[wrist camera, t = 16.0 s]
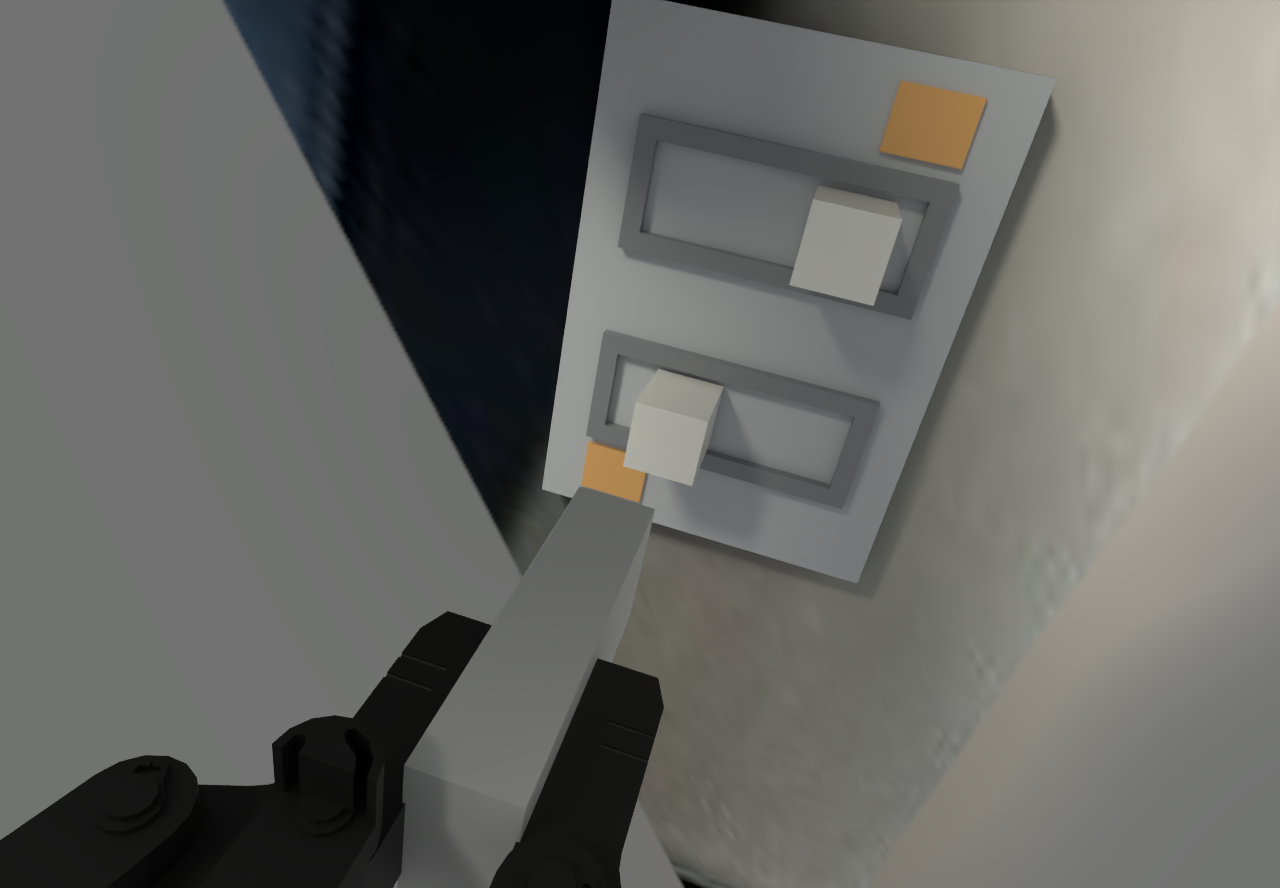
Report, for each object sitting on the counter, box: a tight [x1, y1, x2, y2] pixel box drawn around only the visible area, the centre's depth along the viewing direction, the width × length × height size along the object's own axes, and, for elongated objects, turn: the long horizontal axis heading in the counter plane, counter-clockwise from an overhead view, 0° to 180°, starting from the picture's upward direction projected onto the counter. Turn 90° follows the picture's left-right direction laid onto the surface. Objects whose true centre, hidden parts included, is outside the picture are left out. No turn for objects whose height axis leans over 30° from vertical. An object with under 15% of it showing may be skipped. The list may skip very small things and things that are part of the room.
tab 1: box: [623, 369, 724, 486], centre depth 33 cm, size 3×3×4 cm
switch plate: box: [542, 0, 1057, 583], centre depth 33 cm, size 16×22×2 cm
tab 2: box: [789, 185, 902, 306], centre depth 28 cm, size 3×3×4 cm
